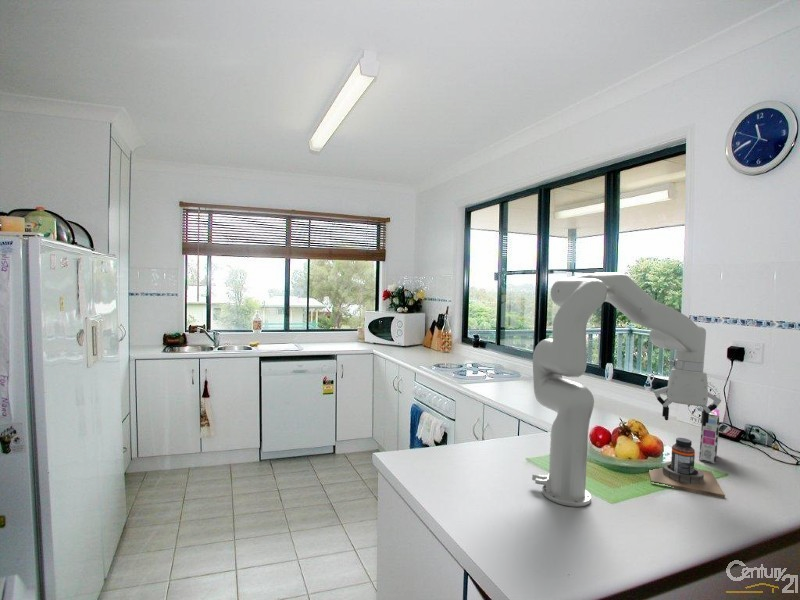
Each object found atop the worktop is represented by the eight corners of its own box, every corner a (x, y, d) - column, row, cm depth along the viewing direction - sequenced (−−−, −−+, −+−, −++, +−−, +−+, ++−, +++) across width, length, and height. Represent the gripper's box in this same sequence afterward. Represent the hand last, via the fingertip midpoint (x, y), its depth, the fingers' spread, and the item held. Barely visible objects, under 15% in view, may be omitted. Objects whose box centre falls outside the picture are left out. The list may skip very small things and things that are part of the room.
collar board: (651, 484, 132) (651, 474, 132) (646, 462, 148) (646, 454, 148) (724, 498, 124) (725, 487, 124) (711, 474, 140) (711, 465, 140)
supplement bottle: (672, 470, 140) (674, 434, 140) (694, 475, 136) (696, 439, 136) (668, 476, 136) (671, 439, 135) (692, 482, 132) (694, 444, 131)
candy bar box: (716, 464, 149) (719, 416, 148) (698, 460, 152) (701, 413, 151) (716, 454, 158) (719, 409, 157) (699, 451, 161) (702, 406, 160)
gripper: (657, 364, 135) (653, 420, 136) (726, 371, 128) (721, 430, 128) (654, 361, 142) (651, 414, 142) (720, 368, 135) (715, 424, 135)
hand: (684, 422), depth 135 cm, fingers open, 9 cm apart
